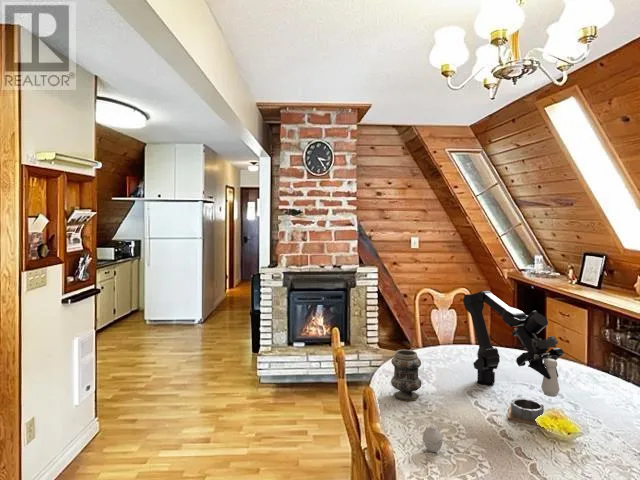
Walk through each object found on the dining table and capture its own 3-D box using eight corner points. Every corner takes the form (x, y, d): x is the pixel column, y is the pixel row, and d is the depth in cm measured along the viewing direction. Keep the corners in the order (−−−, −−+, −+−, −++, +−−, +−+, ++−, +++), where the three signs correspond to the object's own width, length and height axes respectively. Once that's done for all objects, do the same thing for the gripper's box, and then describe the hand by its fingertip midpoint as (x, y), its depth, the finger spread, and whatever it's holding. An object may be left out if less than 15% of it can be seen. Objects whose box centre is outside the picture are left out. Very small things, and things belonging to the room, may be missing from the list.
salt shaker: (560, 398, 153) (561, 362, 152) (543, 396, 154) (543, 361, 154) (557, 392, 158) (557, 357, 158) (539, 390, 160) (540, 356, 160)
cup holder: (507, 419, 151) (507, 407, 151) (510, 407, 162) (510, 395, 162) (545, 427, 145) (545, 414, 145) (546, 413, 156) (546, 401, 156)
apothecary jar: (424, 393, 176) (424, 350, 175) (417, 404, 165) (417, 358, 164) (395, 389, 181) (395, 346, 180) (387, 399, 170) (387, 354, 170)
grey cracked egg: (439, 444, 135) (439, 422, 134) (446, 456, 128) (446, 433, 127) (419, 444, 134) (419, 422, 134) (426, 456, 127) (426, 433, 127)
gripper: (522, 331, 156) (548, 370, 146) (560, 326, 163) (587, 364, 153) (506, 346, 164) (528, 385, 154) (542, 341, 170) (567, 378, 160)
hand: (553, 378), depth 155 cm, fingers closed on salt shaker, 3 cm apart
